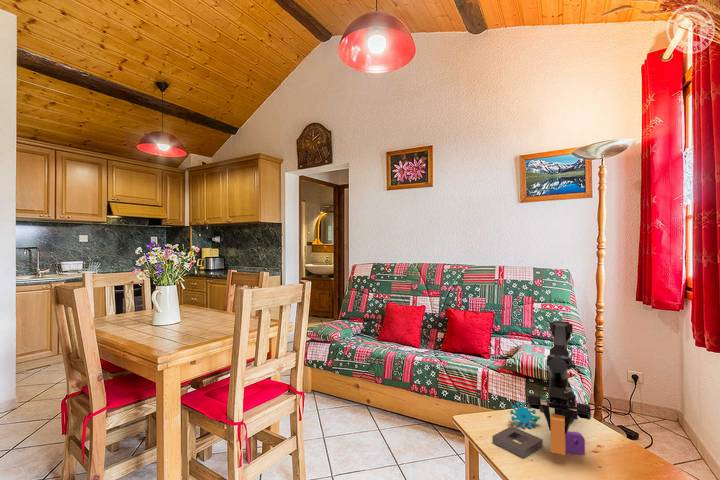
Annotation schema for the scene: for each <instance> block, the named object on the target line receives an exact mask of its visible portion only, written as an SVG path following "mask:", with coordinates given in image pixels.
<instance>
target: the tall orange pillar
mask: <svg viewBox="0 0 720 480" xmlns="http://www.w3.org/2000/svg"><path fill="white" fill-rule="evenodd" d="M550 421H551V431H550V452H551V453H554V454H559V455H563V456H566V453H565V450H566V446H565V416H562V415H557V414H554V413H551V412H550Z"/></svg>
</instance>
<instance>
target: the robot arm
mask: <svg viewBox="0 0 720 480" xmlns="http://www.w3.org/2000/svg"><path fill="white" fill-rule="evenodd" d="M549 331H550V332H551V336H552V338H553V346H552V347H551V348H550V349H549V354H547V357H546V367H548V372H549V386H548V394H547V396H548V397H547V398H548V400H545V399H542V398H541V395H537V394H527V399H526V400H527V404H528V405H529V407H530V408H531V409H533V410H539V411H540V413H542V414H543V415H544V417H545V420H546V423H547V426H548V431H549V432H551V421H550V418H551V412H550V408H551V409H553V410H554V411H553V412H554V413H553V414H557V415H562V416H565V435H566V434H567V431H569V429H570V427H571V425H572V423H573V422H574V420H579V419H578V418H580V419H583V420H589V421H590V420H591V418H592V414H591V413H592V412H591V411H592V410H591V406H590V405H589V404H586V403H580V402H577V401H576V400H577V399H576V394H575V393H574V391H573V387H572V385H571V384H570V382H569V374H568V371H569V370H571V369H572V368H574V362H573V360H572V358H571V357H570V353H569V350H568V342H569V341H570V339H571V337H572V334H573V332H574V331H573V323H570V321H563V320H552V321H549Z"/></svg>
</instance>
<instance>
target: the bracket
mask: <svg viewBox="0 0 720 480" xmlns="http://www.w3.org/2000/svg"><path fill="white" fill-rule="evenodd" d="M585 444H586V441H585V438H584V436H583V435H582V433H580V432H577V431H569V430H568V431H567V434H566V435H565V446H566V450H565V454H569V455H570V454H571V455H572V454H573V455H584V456H585V455H586V445H585Z"/></svg>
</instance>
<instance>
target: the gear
mask: <svg viewBox="0 0 720 480" xmlns="http://www.w3.org/2000/svg"><path fill="white" fill-rule="evenodd" d="M526 405H527V404H526V402H524V401H522V403H521V407H520V402H519V401H518V402H516V403H515V405H514V404H512V406H511V407H510V408H511V410H510V411H509V414H510V415H511V417H510V418H511V420H512V421H515V420H518V421H515V425H516V426H517V427H518V426H519V425H520V424H521V423H523V424H521V427H520V428H521V429H526V424H527V428H528V429H532V428H533V426H535V425H537V422H538V420H539V421H540V419H541V416H540V415H538V416H537V415H536V414H537V412H536V409H533V410H530V409H532V408H530V407H529V405H528V406H526ZM525 406H526V407H525ZM516 407H517V408H516ZM512 409H513V410H512ZM531 423H532V424H531Z"/></svg>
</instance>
